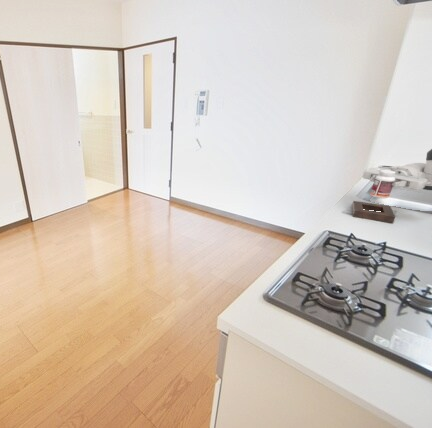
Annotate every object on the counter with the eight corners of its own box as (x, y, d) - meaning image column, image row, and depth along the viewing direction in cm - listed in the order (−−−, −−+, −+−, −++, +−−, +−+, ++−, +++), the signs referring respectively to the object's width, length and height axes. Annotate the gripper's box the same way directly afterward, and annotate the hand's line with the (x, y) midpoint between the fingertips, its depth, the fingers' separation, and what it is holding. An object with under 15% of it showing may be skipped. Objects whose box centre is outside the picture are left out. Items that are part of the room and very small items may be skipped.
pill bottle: (391, 196, 119) (401, 171, 114) (384, 199, 116) (393, 174, 112) (373, 192, 124) (382, 168, 119) (366, 195, 122) (375, 171, 117)
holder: (388, 212, 126) (390, 206, 124) (392, 223, 116) (395, 216, 115) (351, 206, 133) (353, 200, 131) (352, 216, 123) (354, 210, 122)
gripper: (430, 190, 114) (411, 196, 110) (371, 177, 132) (353, 182, 127) (437, 175, 112) (418, 181, 107) (376, 164, 129) (357, 169, 124)
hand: (382, 182), depth 117 cm, fingers closed on pill bottle, 6 cm apart
